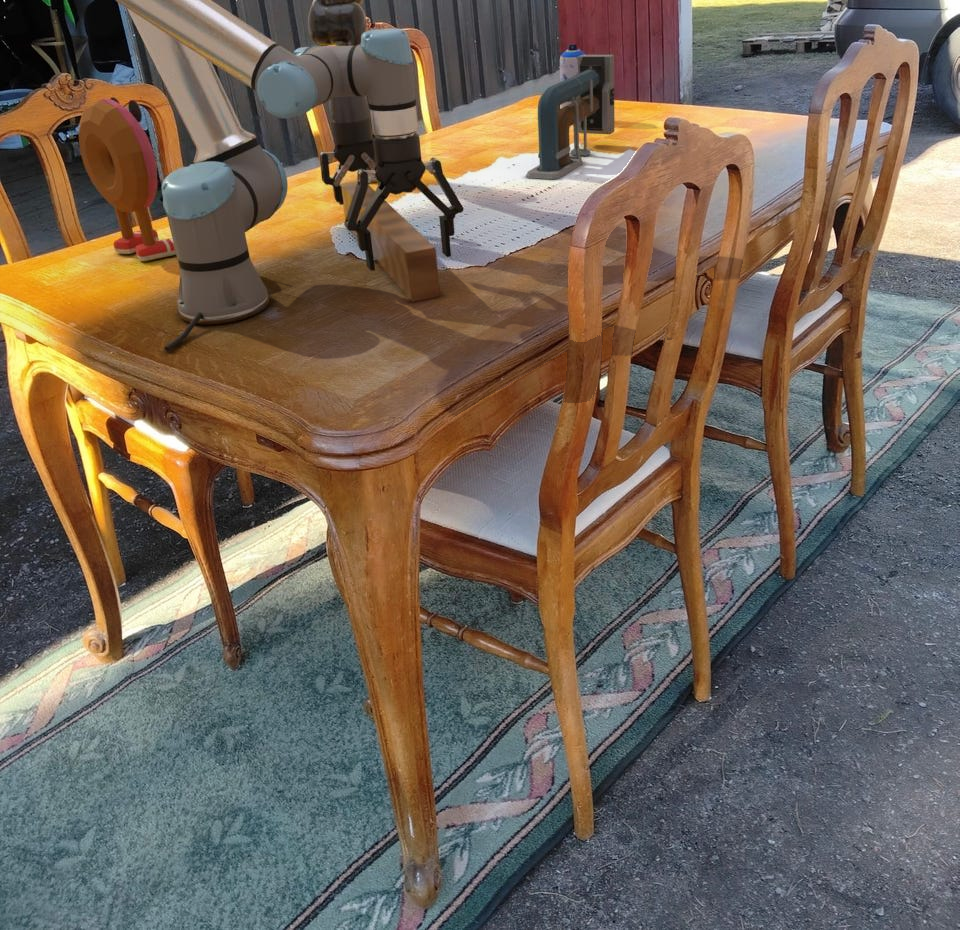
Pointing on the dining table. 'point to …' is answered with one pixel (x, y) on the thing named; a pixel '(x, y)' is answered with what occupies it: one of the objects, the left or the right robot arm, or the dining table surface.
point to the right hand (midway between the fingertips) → (361, 200)
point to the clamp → (574, 115)
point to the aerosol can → (569, 65)
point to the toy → (123, 172)
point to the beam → (399, 248)
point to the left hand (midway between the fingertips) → (409, 261)
